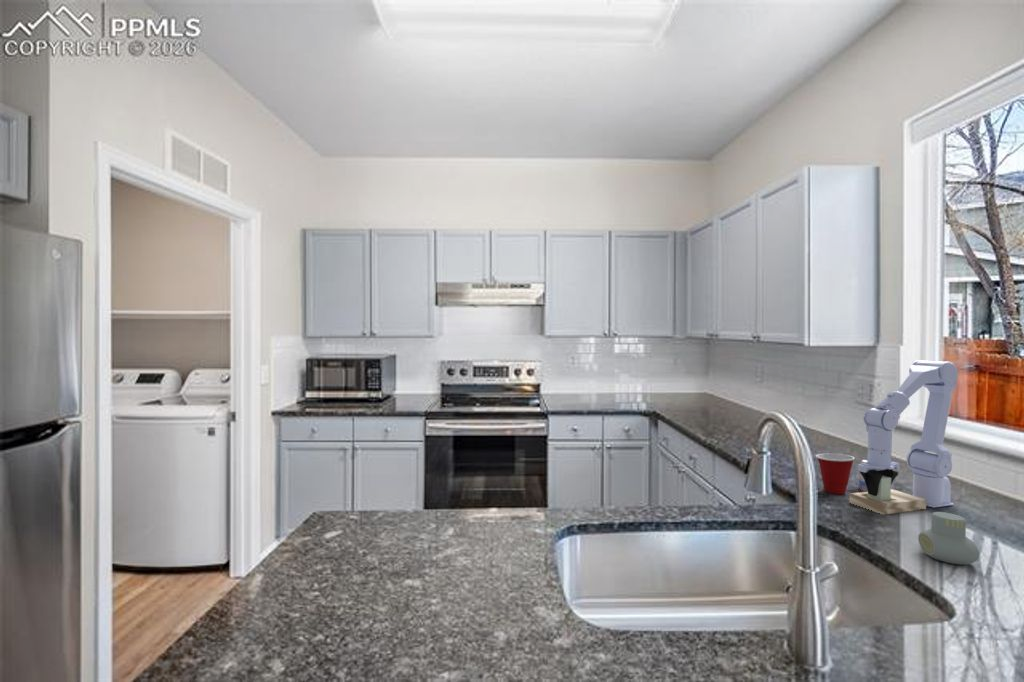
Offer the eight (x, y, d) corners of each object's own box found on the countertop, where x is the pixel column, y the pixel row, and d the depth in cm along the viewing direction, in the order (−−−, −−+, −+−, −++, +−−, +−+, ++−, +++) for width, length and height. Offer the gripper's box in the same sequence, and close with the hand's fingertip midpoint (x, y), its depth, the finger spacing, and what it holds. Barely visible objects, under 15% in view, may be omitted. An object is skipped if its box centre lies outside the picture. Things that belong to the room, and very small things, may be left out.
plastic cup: (815, 484, 170) (816, 449, 170) (854, 491, 164) (855, 454, 164) (813, 492, 161) (814, 455, 161) (853, 499, 155) (854, 461, 155)
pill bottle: (872, 488, 167) (873, 459, 167) (882, 493, 162) (883, 463, 162) (854, 487, 168) (855, 459, 168) (864, 492, 162) (865, 463, 162)
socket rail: (891, 498, 157) (891, 489, 157) (926, 509, 147) (926, 499, 147) (849, 503, 151) (849, 493, 151) (882, 514, 142) (883, 504, 142)
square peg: (876, 500, 150) (877, 474, 150) (890, 504, 147) (891, 477, 146) (867, 501, 149) (867, 474, 149) (880, 505, 145) (881, 478, 145)
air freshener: (984, 573, 107) (985, 527, 107) (938, 566, 109) (939, 522, 109) (955, 552, 117) (957, 510, 117) (914, 547, 120) (915, 506, 120)
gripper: (875, 453, 142) (874, 500, 142) (910, 450, 146) (909, 496, 146) (851, 448, 149) (850, 493, 149) (886, 445, 153) (884, 489, 153)
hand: (878, 494), depth 148 cm, fingers closed on square peg, 4 cm apart
